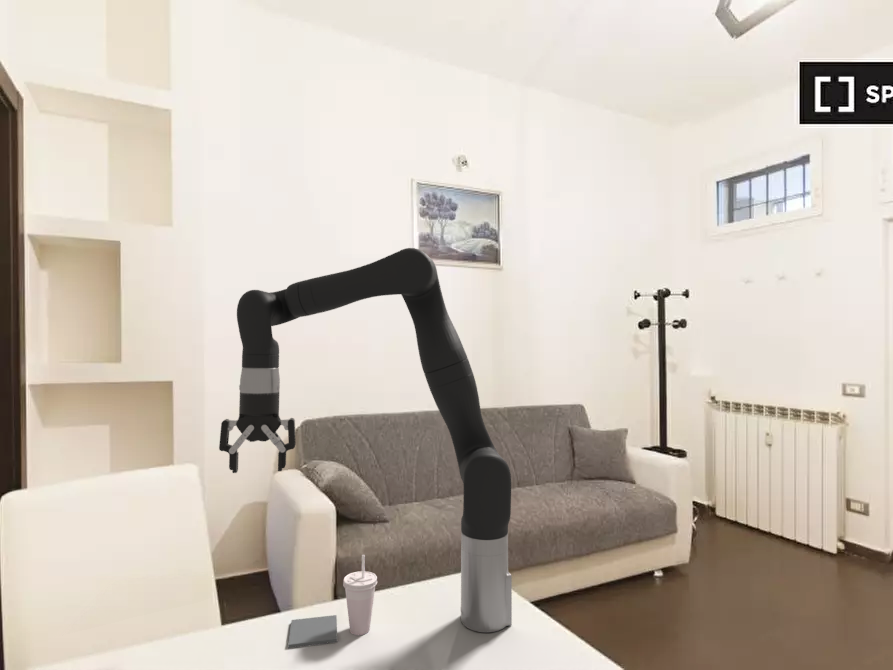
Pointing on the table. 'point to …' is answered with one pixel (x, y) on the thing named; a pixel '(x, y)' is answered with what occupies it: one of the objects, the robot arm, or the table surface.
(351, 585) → the smoothie
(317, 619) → the coaster
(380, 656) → the table surface
